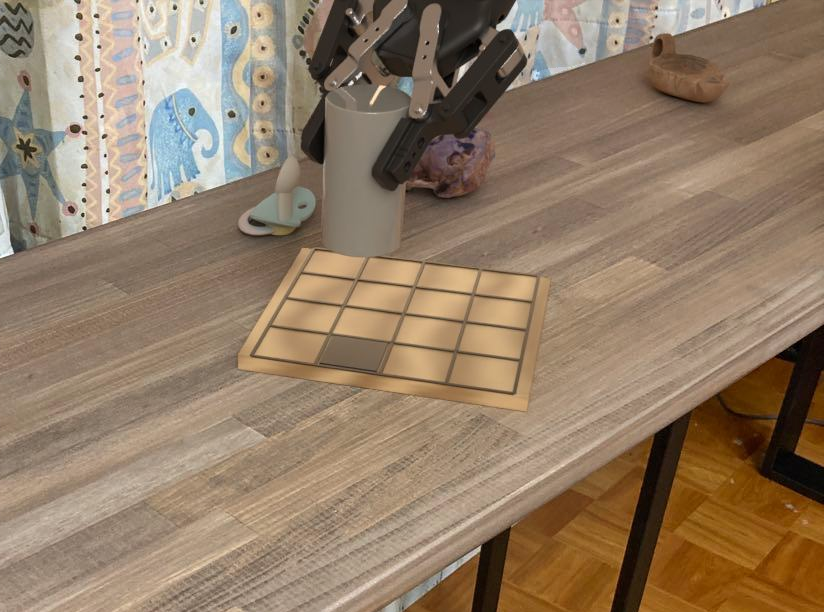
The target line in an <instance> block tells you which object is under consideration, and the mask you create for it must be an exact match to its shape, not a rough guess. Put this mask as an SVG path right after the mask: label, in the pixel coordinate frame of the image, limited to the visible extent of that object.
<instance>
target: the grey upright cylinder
mask: <svg viewBox="0 0 824 612" xmlns="http://www.w3.org/2000/svg"><path fill="white" fill-rule="evenodd" d="M411 97H412V95H410V94H409V93H408V92H406V91H404V90H401V89H399V88H395V87H391V86H388V85H387V86H381V85H352V84H350V85H348V86H345V87H340V88H337V89H334V90H332V91H330V92H329V93H328V94H327V95H326V98H325V126H324V157H323V164H322V188H321V189H322V192H321V193H322V194H321V220H320V221H321V226H320V241H321V243H322V245H323V246H324V247H325V249H329V250H331V251H333V252H335V253H338V254H341V255H345V256H351V257H377V256H387V255H388V254H391V253H393V252H395V251H396V250H398V249H399V248H400V246H401V244H402V241H403V240H402V239H403V230H404V229H403V228H404V215H405V203H406V193H407V192H406V182H404V183H403V184H399V186H398V187H397V189H396V190H395V191H389V190H387V189H384V188H382V187H381V186H380V185H379V184H378V183H377V181H376V180H375V179H374V178H373V177H372V173H371V172H372V167H373V165H374V163H375V162H376V160H377V158H378V157H379V155H380V153H381V151H382V150H383V148H384V146H385V145H386V143H387V141H388V139H389V138H390V136H391V134H392V133H393V131H394V129H395V127H396V126H397V124H398V122H399V121H400V119H401V117H402V118H405V119H408V118H409V117H410V115H409V106H410V102H411Z"/></svg>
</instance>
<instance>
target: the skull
mask: <svg viewBox="0 0 824 612" xmlns="http://www.w3.org/2000/svg"><path fill="white" fill-rule="evenodd" d="M495 157H496V147H495V144H494V141H493V138H492V135H491V133H490V132H489V131H487V130H485V129H484V128H483V129H482V128H479V127H475V128H474V129H473V131H472V132H471V133H470V134H469V135H468V136H467V137H465V138H463V139H457V138H456V137H455V136H454V135H453V134H449V135H440V137H438V138H437V139H435V140H432V141H431V142H430V143H429V145H428V147H427V148H426V150H425V152H424V153H423V155H422V157H421V159H420V160H419V162H418V163H417V165H416V167H415V169H414V171H413V172H412V174H411V176H410V177H409V179H408V180H407V181H406V190H407V191H410V190H412V188H416V189H420V188H423V189H424V188H425V189H431V190H433V193H434V194H435V196H436V197H438V198H442V199H443V198H444V199H450V198H453V197H455V198H457V197H461V196H464V195H467V194H470V192H475V191H476V190H477V189H478V187H479V186H480V185H481V184H485V182H486V181H487V180H486V179H487V177H486V173H487V172H488V170H489V168H490V166H491V163H493V160H495Z"/></svg>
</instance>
